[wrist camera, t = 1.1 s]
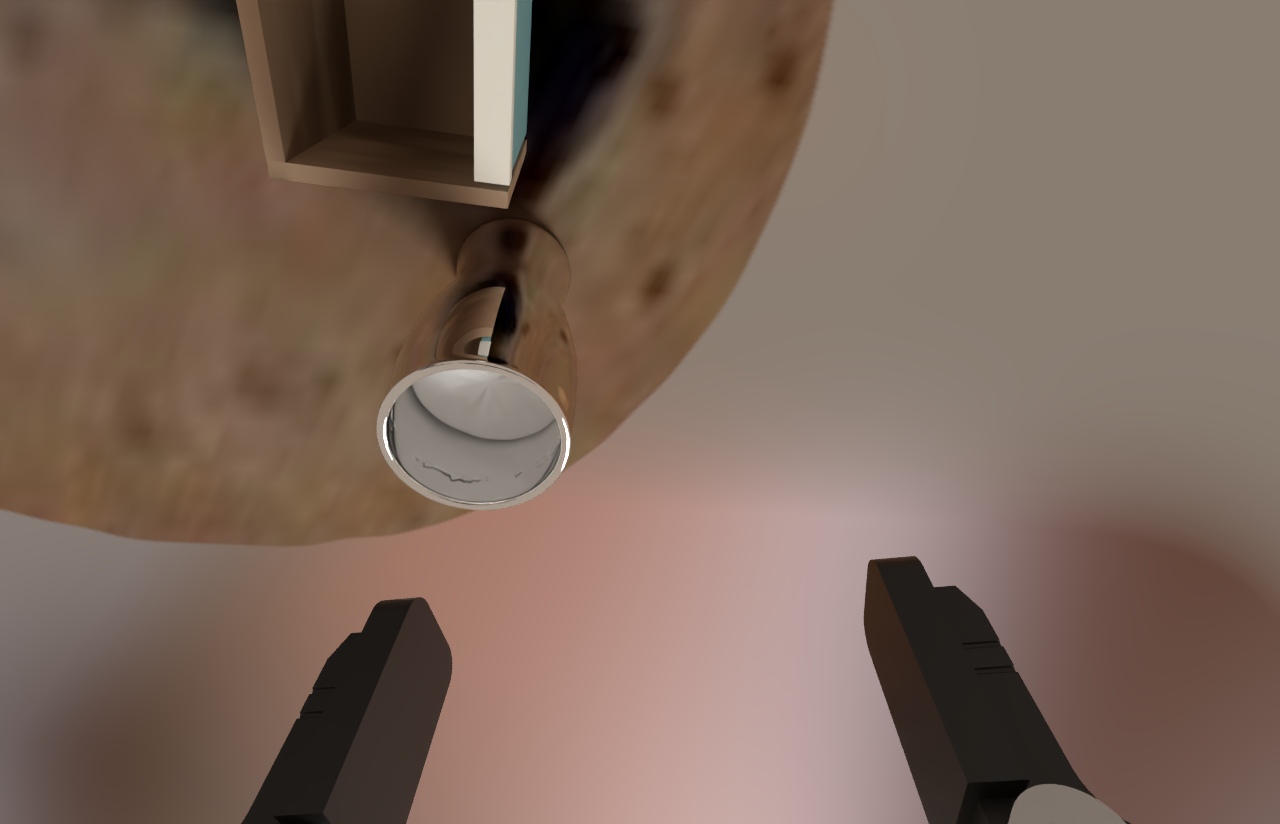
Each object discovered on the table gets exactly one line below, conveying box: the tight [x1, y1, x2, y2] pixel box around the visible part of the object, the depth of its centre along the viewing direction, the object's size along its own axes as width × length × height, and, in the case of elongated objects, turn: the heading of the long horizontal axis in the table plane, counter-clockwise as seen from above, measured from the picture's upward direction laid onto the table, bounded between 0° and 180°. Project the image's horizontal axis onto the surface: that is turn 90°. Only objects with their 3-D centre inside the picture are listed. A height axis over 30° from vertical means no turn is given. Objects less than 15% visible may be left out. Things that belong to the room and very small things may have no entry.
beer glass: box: [376, 219, 578, 510], centre depth 27 cm, size 7×7×15 cm
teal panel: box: [474, 0, 532, 186], centre depth 22 cm, size 1×10×9 cm, turn 171°
